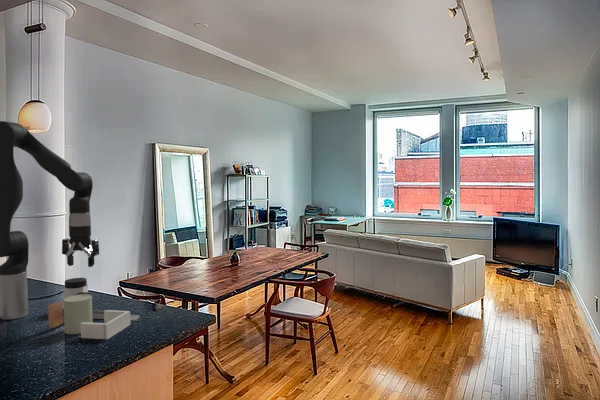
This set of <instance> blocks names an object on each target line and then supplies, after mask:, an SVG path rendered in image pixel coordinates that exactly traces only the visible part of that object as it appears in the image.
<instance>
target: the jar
mask: <svg viewBox="0 0 600 400" xmlns="http://www.w3.org/2000/svg"><path fill="white" fill-rule="evenodd" d="M87 282H88V281H87V278H86V277H73V278H68V279H66V280H65V281H64V287H63V299H64V298H66V297H69V296H73V295H75V294H77V293H80V292H89V285H88V283H87Z"/></svg>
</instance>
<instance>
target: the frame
mask: <svg viewBox="0 0 600 400" xmlns="http://www.w3.org/2000/svg"><path fill="white" fill-rule="evenodd" d="M130 315H131V311H130V310H115V309H114V310H112V309H110V310H109V309H105V311H104V319H103V320H104V322H93V323H88V322H82V323H81V333H80V338H81V339H92V340H93V339H95V340H109V339H110V338H112V337H113V336H115V335H117V334H118V333H120V332H121V331H123V330H124V329H126V328H127V327H129V326H130V325H131V320H130Z"/></svg>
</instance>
